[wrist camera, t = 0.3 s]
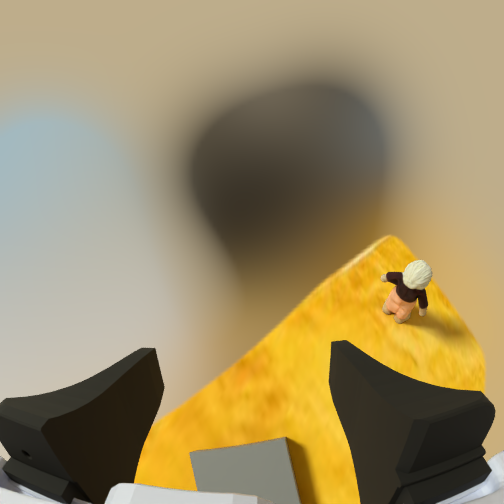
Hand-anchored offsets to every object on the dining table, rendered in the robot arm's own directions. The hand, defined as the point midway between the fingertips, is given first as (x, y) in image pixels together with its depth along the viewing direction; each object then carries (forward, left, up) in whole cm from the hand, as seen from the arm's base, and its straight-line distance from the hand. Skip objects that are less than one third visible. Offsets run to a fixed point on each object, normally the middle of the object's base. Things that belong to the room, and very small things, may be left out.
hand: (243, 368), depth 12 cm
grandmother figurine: (+8, -18, -29) cm, 35 cm away
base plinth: (-11, +7, -29) cm, 32 cm away
